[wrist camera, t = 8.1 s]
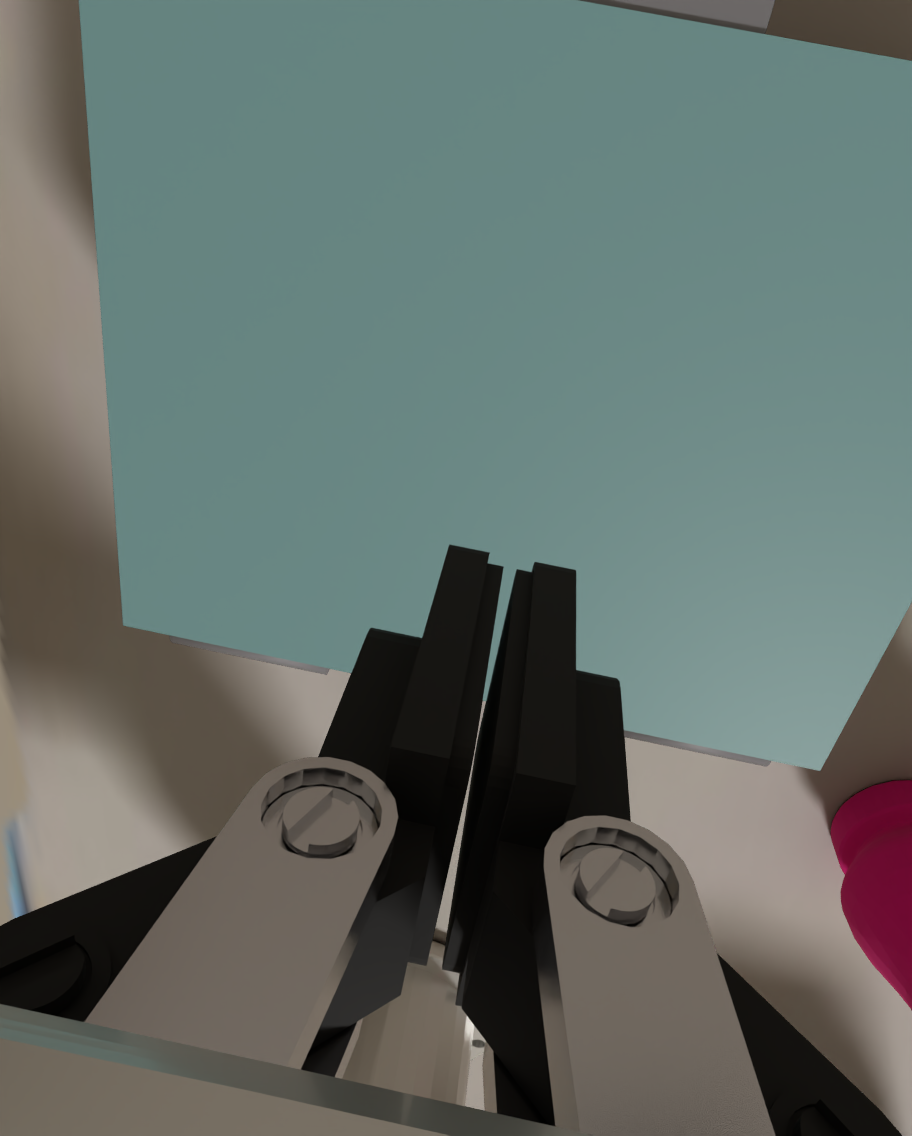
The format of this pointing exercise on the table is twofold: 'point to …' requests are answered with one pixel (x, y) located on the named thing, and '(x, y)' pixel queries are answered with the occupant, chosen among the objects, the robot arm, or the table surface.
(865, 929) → the pepper mill
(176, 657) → the table surface
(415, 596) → the lid
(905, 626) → the table surface
